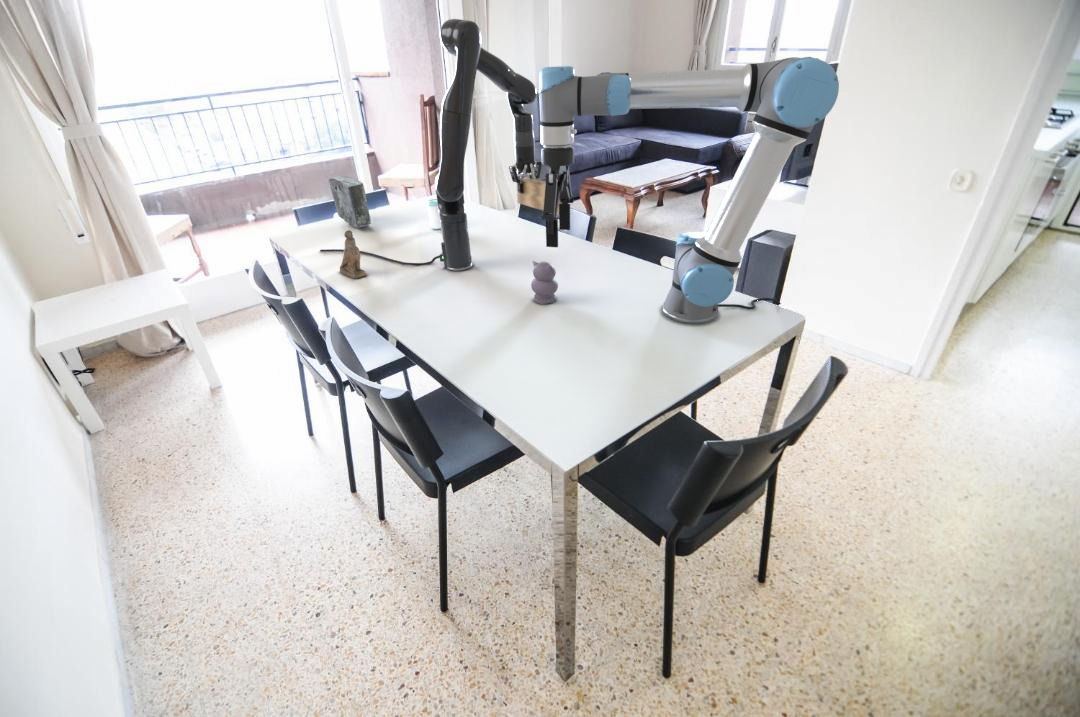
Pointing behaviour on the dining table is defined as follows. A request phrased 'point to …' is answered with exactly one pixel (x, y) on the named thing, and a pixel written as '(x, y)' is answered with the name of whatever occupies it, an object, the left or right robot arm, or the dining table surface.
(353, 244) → the worn brown figurine
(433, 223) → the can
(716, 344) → the dining table surface
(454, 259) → the left robot arm
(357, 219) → the concrete block
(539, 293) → the cat figurine
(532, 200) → the bar
